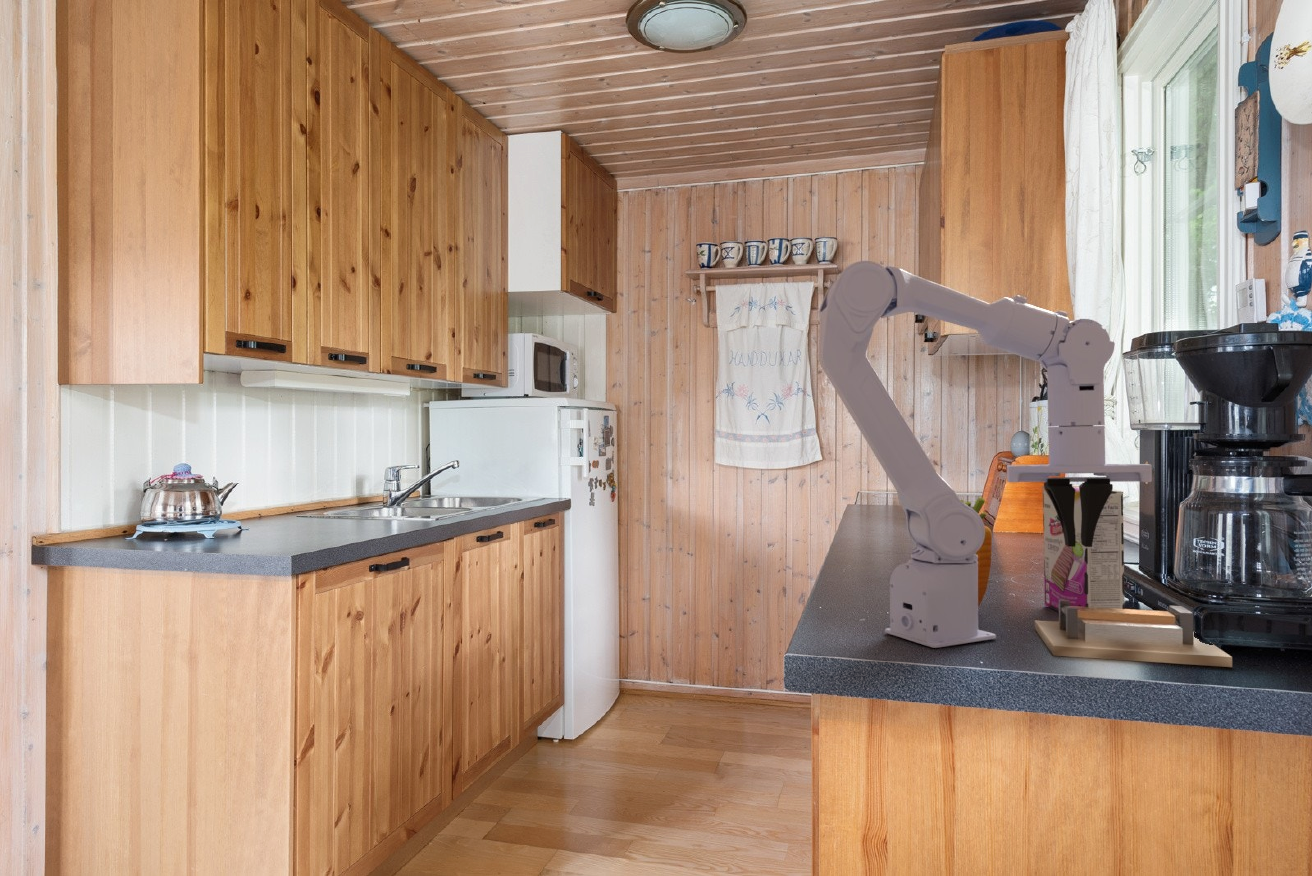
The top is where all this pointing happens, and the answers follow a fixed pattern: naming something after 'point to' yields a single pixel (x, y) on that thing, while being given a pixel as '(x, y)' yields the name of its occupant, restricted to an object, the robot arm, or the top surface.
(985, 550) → the carrot
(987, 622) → the top surface
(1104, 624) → the stone
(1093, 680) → the top surface
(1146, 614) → the copper strap
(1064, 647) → the birch board
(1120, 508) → the candy bar box
